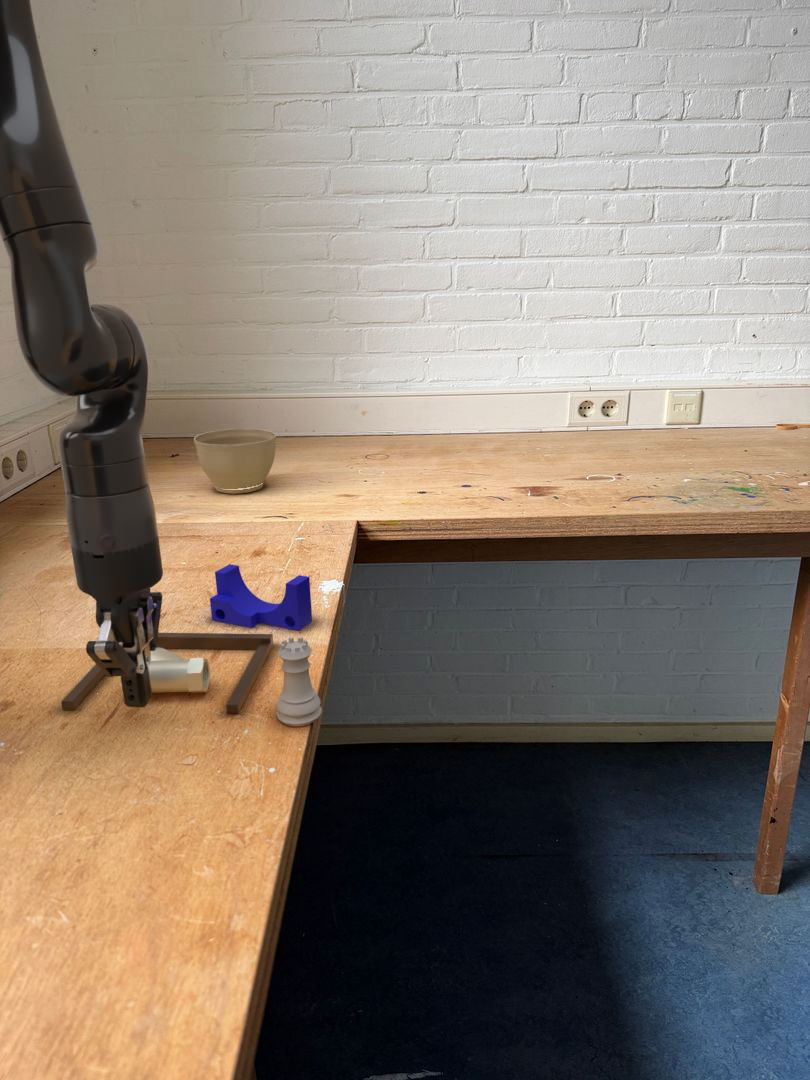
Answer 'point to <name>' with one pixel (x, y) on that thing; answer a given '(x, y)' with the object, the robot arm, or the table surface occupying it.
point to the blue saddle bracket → (260, 602)
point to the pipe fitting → (177, 673)
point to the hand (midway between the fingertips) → (138, 703)
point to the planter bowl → (236, 457)
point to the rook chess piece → (297, 685)
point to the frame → (195, 641)
